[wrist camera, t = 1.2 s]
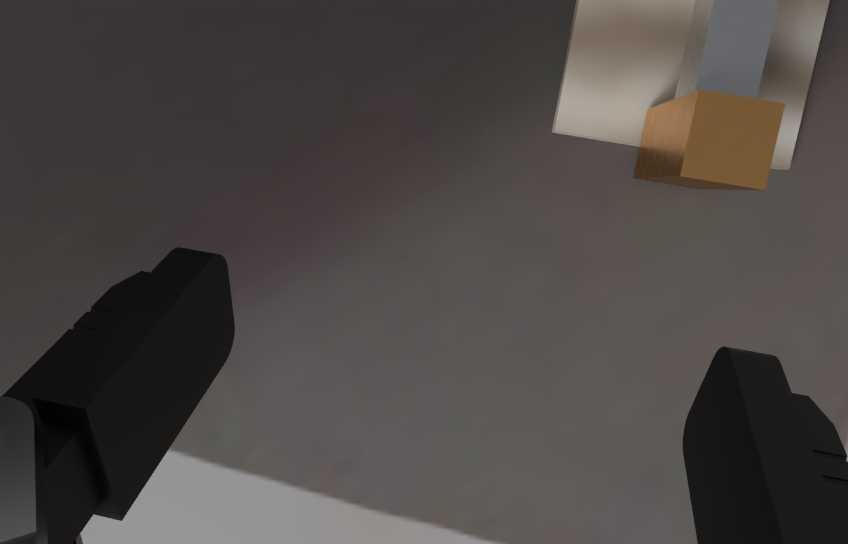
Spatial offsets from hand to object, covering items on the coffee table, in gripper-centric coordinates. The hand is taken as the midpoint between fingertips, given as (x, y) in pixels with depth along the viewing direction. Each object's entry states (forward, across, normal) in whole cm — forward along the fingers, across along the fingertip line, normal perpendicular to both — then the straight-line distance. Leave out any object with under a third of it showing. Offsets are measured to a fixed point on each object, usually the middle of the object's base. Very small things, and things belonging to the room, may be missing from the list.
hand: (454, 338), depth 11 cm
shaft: (+34, -9, 0) cm, 35 cm away
